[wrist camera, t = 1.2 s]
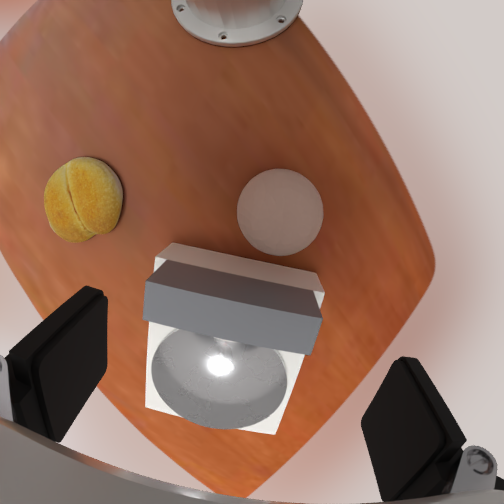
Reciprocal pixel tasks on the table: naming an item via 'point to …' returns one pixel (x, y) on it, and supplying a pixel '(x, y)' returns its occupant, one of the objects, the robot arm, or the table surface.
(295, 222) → the egg
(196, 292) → the kitchen scale
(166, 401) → the scale pan
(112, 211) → the bread roll
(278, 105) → the table surface
